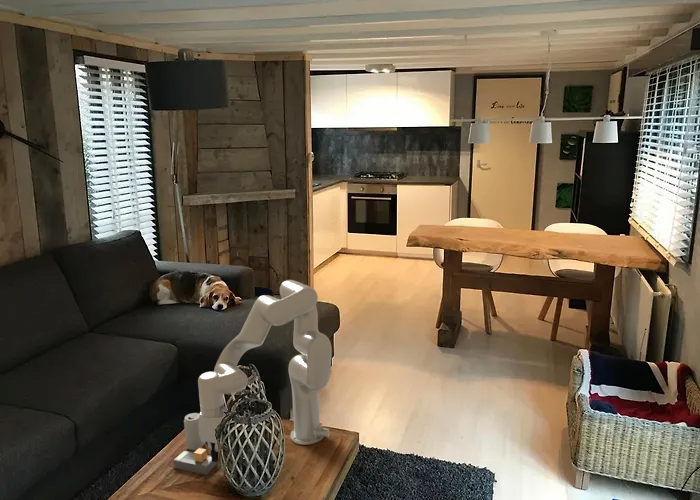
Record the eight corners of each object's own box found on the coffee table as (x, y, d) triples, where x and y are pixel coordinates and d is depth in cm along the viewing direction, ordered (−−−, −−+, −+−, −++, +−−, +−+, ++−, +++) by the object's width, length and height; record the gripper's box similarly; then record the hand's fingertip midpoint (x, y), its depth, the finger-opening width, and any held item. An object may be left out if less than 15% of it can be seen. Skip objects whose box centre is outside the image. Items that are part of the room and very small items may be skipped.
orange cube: (207, 457, 194) (206, 449, 193) (202, 462, 191) (201, 454, 190) (199, 455, 195) (199, 447, 194) (194, 460, 192) (193, 452, 192)
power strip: (216, 464, 195) (215, 456, 194) (206, 474, 190) (205, 466, 189) (185, 458, 200) (184, 450, 199) (174, 467, 194) (173, 459, 193)
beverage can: (182, 448, 206) (179, 418, 203) (195, 440, 211) (192, 410, 208) (196, 453, 203) (193, 422, 200) (208, 444, 208) (205, 414, 206)
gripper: (238, 407, 187) (241, 457, 191) (200, 401, 193) (204, 449, 196) (225, 418, 181) (229, 470, 184) (186, 411, 186) (191, 461, 190)
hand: (216, 459), depth 190 cm, fingers closed
